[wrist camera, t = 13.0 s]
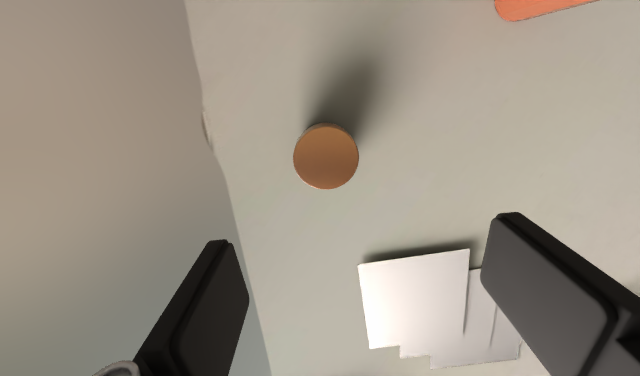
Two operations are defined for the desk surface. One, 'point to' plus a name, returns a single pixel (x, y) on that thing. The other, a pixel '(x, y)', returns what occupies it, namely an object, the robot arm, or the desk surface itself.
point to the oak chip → (325, 156)
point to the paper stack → (435, 311)
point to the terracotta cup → (533, 7)
